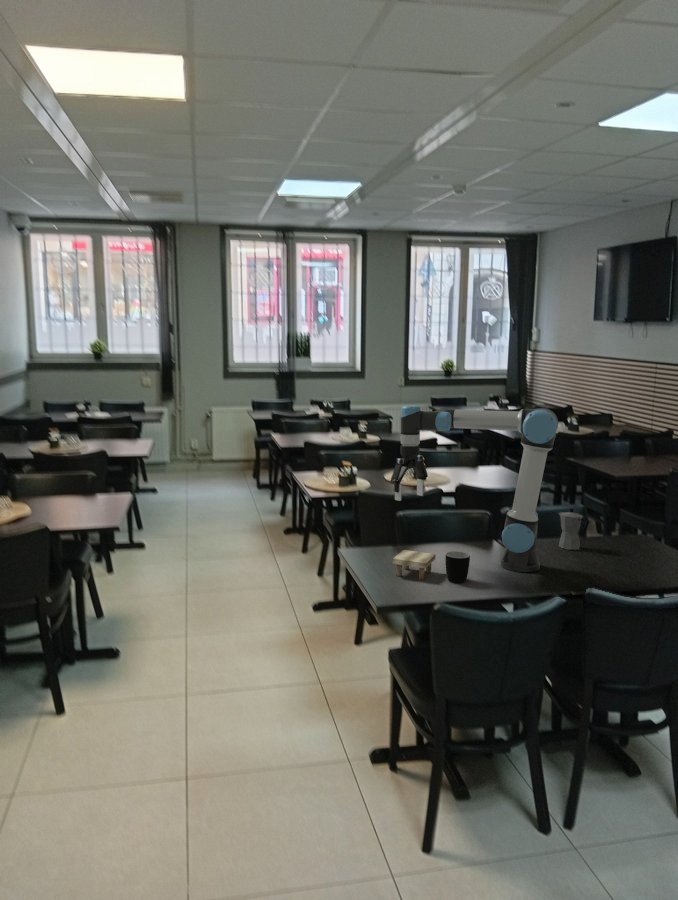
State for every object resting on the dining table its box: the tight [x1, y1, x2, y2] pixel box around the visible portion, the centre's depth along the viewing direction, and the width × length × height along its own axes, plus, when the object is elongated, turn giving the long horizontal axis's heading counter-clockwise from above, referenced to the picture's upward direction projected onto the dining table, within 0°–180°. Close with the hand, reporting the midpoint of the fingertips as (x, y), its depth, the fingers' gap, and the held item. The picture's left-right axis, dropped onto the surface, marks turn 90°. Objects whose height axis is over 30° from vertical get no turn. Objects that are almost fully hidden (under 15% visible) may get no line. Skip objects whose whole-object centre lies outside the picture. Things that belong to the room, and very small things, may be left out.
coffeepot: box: [557, 507, 590, 550], centre depth 309 cm, size 15×9×18 cm, turn 37°
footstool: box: [392, 549, 437, 581], centre depth 271 cm, size 13×13×7 cm
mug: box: [445, 550, 471, 584], centre depth 265 cm, size 12×9×10 cm
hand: (409, 497), depth 281 cm, fingers open, 13 cm apart
